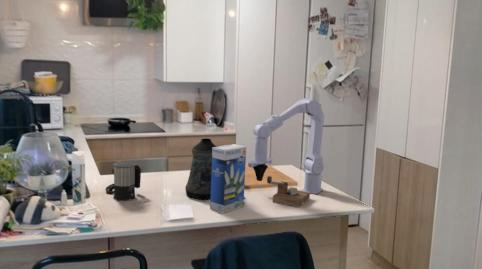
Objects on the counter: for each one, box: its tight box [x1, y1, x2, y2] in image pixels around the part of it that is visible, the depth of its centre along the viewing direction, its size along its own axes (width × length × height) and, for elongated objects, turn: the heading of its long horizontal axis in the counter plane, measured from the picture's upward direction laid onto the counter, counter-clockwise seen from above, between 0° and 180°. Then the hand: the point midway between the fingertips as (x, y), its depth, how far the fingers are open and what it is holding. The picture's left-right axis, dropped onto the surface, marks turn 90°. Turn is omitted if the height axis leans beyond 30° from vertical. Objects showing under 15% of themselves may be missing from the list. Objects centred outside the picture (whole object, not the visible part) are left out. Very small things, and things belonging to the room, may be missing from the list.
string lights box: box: [209, 143, 247, 214], centre depth 197 cm, size 13×8×26 cm, turn 139°
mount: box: [272, 180, 311, 208], centre depth 213 cm, size 14×12×7 cm
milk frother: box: [105, 161, 142, 201], centre depth 208 cm, size 14×16×15 cm
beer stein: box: [185, 138, 217, 201], centre depth 215 cm, size 16×19×25 cm
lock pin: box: [266, 175, 284, 186], centre depth 215 cm, size 2×8×3 cm, turn 64°
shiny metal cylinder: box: [288, 186, 298, 196], centre depth 213 cm, size 4×4×6 cm
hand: (259, 180), depth 219 cm, fingers closed
